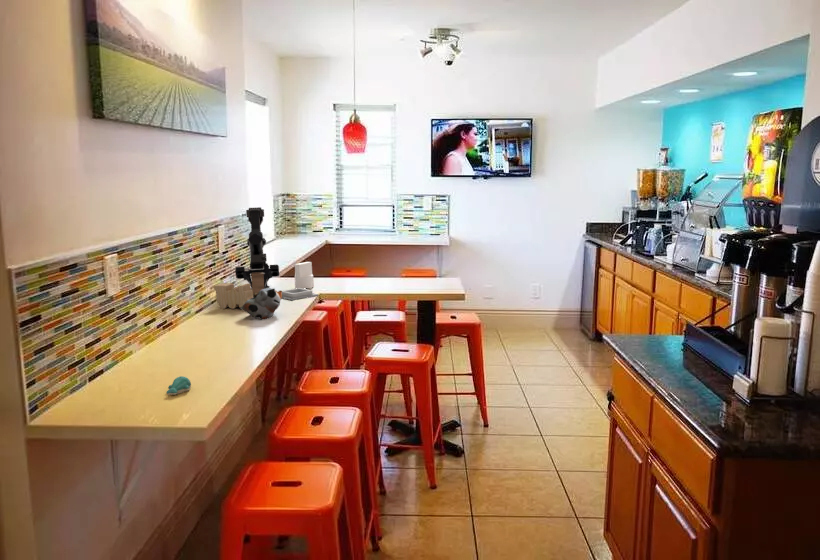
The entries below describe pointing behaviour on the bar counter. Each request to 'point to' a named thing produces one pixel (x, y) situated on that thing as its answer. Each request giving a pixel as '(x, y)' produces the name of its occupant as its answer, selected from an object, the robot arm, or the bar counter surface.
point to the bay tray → (297, 294)
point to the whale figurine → (179, 386)
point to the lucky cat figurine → (263, 303)
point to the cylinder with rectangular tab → (304, 275)
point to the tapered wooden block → (257, 282)
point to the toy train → (232, 295)
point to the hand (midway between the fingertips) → (258, 287)
